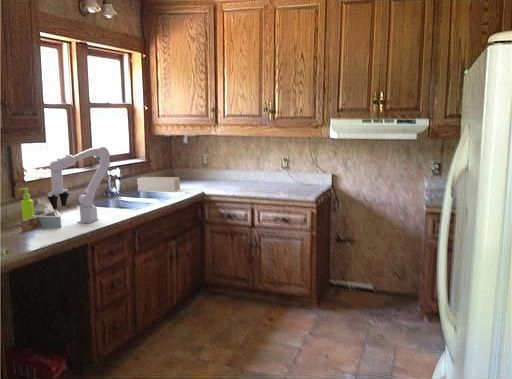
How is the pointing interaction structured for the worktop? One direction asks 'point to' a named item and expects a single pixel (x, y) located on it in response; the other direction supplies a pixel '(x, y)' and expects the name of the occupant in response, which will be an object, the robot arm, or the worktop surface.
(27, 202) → the soap dispenser
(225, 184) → the worktop surface
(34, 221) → the walnut board
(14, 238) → the worktop surface
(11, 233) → the worktop surface
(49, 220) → the grey block
